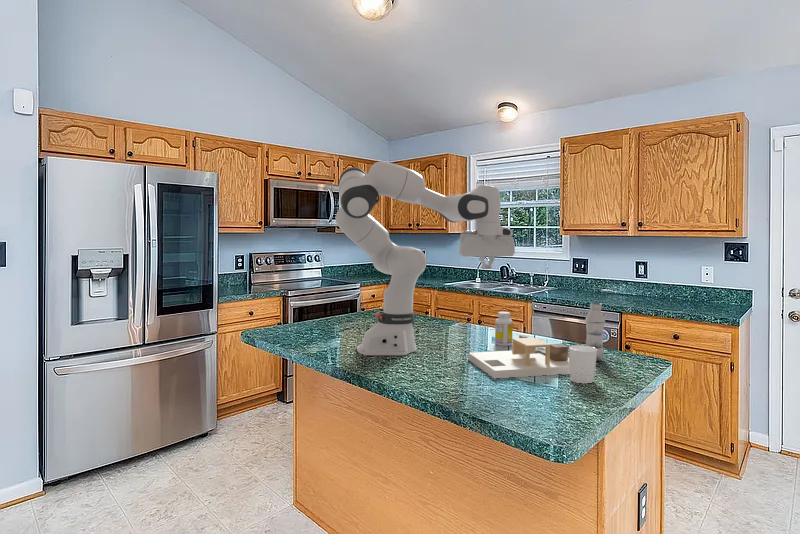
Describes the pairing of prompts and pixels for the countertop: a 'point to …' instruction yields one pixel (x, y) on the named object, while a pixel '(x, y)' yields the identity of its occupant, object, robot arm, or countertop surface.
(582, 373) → the white cup
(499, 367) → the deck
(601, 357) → the plastic bottle
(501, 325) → the supplement bottle
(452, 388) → the countertop surface
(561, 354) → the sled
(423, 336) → the countertop surface
